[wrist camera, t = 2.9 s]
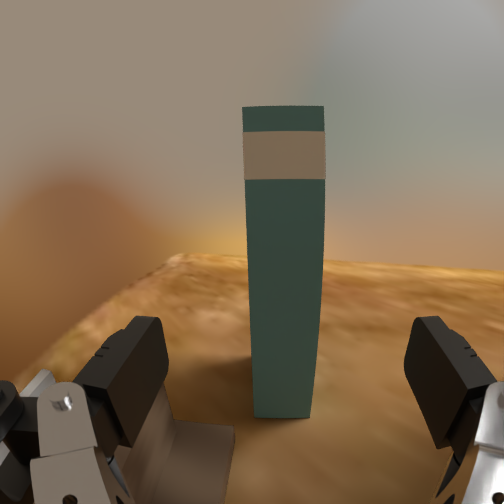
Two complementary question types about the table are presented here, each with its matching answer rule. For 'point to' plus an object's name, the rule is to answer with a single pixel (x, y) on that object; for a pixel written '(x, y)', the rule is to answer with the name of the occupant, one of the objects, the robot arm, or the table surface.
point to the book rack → (167, 455)
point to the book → (284, 252)
